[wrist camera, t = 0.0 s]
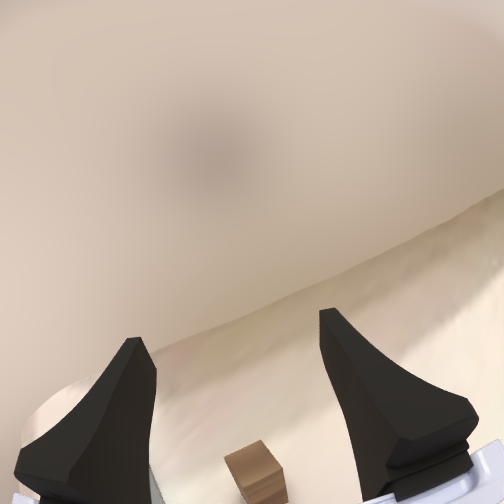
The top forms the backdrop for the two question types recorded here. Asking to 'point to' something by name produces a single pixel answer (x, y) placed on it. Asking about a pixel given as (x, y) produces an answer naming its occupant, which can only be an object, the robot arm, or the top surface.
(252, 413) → the top surface
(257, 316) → the top surface
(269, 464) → the square bit
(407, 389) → the robot arm
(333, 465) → the top surface
